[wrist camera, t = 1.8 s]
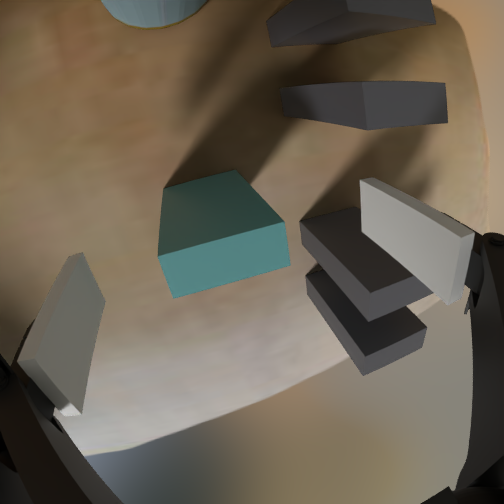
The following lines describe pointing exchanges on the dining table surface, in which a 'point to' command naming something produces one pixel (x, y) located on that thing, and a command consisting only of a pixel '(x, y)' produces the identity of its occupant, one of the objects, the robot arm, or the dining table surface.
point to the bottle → (152, 12)
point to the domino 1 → (218, 234)
